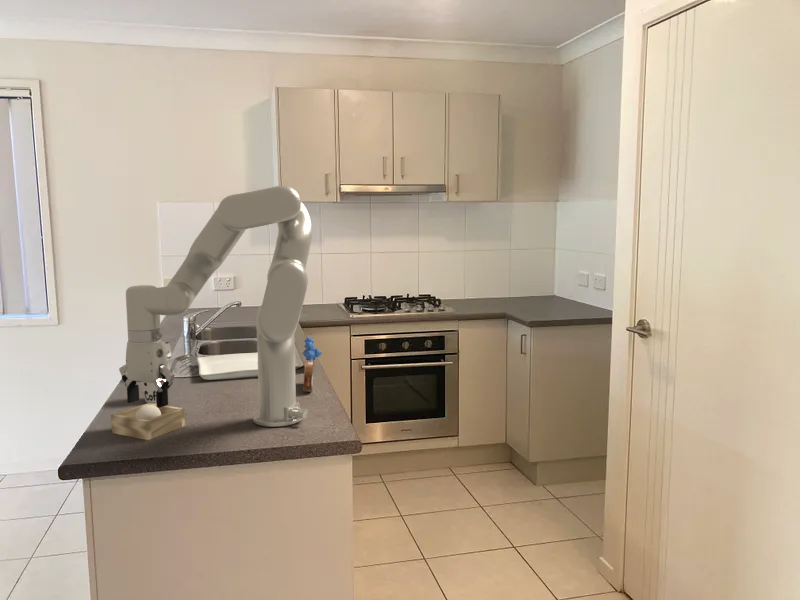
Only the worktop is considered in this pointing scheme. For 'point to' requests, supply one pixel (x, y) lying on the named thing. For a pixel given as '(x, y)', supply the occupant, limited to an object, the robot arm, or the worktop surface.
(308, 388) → the tin
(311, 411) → the worktop surface
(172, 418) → the wooden square tray
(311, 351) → the grapes
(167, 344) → the wineglass
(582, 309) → the worktop surface
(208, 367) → the square plate
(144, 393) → the cup
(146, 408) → the ball
